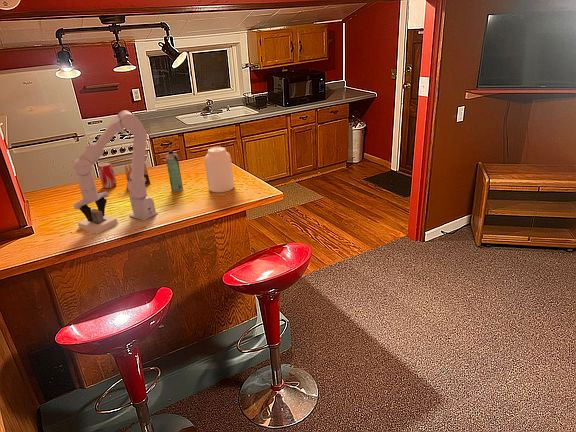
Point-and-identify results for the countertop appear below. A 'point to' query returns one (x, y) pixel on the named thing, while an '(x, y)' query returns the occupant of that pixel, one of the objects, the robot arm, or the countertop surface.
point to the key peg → (97, 216)
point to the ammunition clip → (144, 174)
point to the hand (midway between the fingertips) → (96, 218)
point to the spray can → (174, 171)
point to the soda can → (107, 175)
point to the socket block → (98, 227)
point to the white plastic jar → (219, 170)
